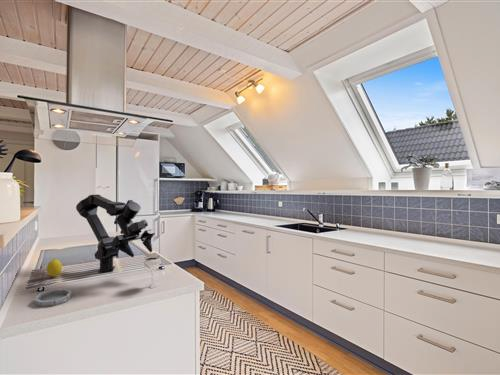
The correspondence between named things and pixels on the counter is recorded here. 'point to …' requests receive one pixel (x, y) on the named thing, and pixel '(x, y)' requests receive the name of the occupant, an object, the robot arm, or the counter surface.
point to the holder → (52, 298)
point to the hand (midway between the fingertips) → (142, 254)
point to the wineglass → (152, 266)
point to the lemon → (54, 267)
